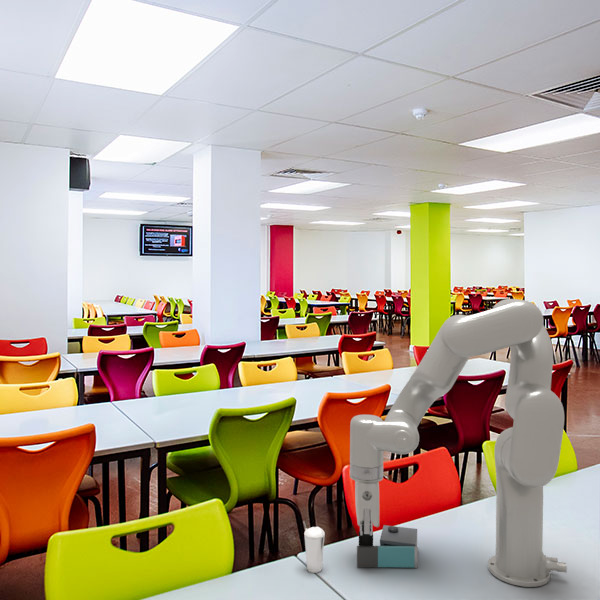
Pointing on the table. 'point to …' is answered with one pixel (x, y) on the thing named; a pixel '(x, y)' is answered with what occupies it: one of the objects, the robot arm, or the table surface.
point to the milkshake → (314, 548)
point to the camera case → (398, 536)
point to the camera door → (387, 556)
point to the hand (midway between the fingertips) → (365, 550)
